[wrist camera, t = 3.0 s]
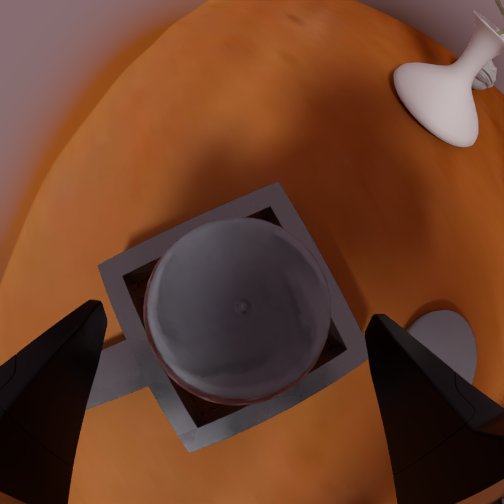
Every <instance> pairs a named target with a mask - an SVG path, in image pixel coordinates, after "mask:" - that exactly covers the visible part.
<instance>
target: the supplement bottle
mask: <svg viewBox="0 0 504 504" xmlns="http://www.w3.org/2000/svg"><path fill="white" fill-rule="evenodd" d="M143 311H144V313H143V320H144V325H145V331H146V335H147V339H148V342H149V345H150V348H151V350H152V352H153V354H154V356H155V358H156V359H157V361H158V362H159V364H160V365H161V367H162V368H163V369H164V370H165V372H166V373H167V375H168V376H169V377H170V378H171V379H173V380H174V381H175V382H176V383H177V384H178V385H180V386H181V387H182V388H184V389H185V390H187V391H188V392H190V393H192V394H194V395H196V396H197V397H200V398H202V399H204V400H206V401H210V402H214V403H219V404H225V405H233V406H234V405H237V406H240V405H250V404H256V403H261V402H264V401H268V400H271V399H273V398H276V397H278V396H280V395H282V394H283V393H285V392H287V391H288V390H290V389H291V388H293V387H294V386H295V385H296V384H297V383H299V382H300V381H301V380H302V379H303V378H304V377H305V376H306V375H307V374H308V373H309V371H310V370H311V369H312V368H313V366H314V365H315V363H316V362H317V360H318V358H319V356H320V354H321V352H322V350H323V348H324V345H325V342H326V339H327V335H328V331H329V327H330V322H331V297H330V291H329V287H328V283H327V280H326V277H325V275H324V272H323V270H322V268H321V266H320V265H319V263H318V261H317V260H316V258H315V257H314V255H313V254H312V252H311V251H310V250H309V249H308V248H307V247H306V246H305V244H303V243H302V242H301V241H300V240H299V239H298V238H297V237H296V236H294V235H293V234H291V233H289V232H288V231H287V230H285V229H283V228H281V227H280V226H277V225H274V224H272V223H270V222H267V221H265V220H261V219H255V218H247V217H231V218H222V219H218V220H213V221H210V222H208V223H205V224H202V225H200V226H198V227H196V228H194V229H192V230H191V231H189V232H187V233H186V234H185V235H183V236H182V237H181V238H180V239H179V240H177V241H176V242H175V243H173V244H172V245H171V246H170V247H169V248H168V249H167V251H166V252H165V253H163V255H162V256H161V258H160V259H159V260H158V262H157V264H156V265H155V267H154V269H153V271H152V273H151V276H150V278H149V281H148V283H147V288H146V292H145V297H144V305H143Z"/></svg>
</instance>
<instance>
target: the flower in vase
mask: <svg viewBox="0 0 504 504" xmlns="http://www.w3.org/2000/svg"><path fill="white" fill-rule="evenodd" d="M495 2H496V4H497V6H498V7H499V9H500V11H501V13H502V15H503V17H504V9H503V7H502V5H501V3H500V1H499V0H495ZM474 18H475V28H474V33H473V36H472V39H471V41H470V43H469V45H468V47H467V48H466V50H465V51H464V53H463V54H462V56H461V57H460V58H459V59H458V60H457V61H456V62H455V63H453V64H451V65H449V66H440V65H433V64H426V63H406V64H403V65H401V66H400V67H398V68H397V69H396V70H395V71H394V75H393V77H394V85H395V89H396V91H397V94H398V96H399V98H400V99H401V101H402V102H403V104H404V105H405V107H406V108H407V109H408V110H409V112H410V113H411V114H412V115H413V116H414V117H415V119H416V120H417V121H418V122H419V123H420V124H422V125H423V126H424V127H425V128H426V129H427V130H428V131H430V132H431V133H432V134H434V135H435V136H436V137H438V138H439V139H441V140H442V141H444V142H446V143H448V144H451V145H453V146H458V147H469V146H472V145H473V144H474V142H475V141H476V138H477V136H478V118H477V113H476V108H475V104H474V100H473V96H472V89H471V87H472V82H473V80H474V78H475V76H476V75H477V74H478V72H479V71H480V70H481V69H482V68H483V67H484V66H485V64H487V63H488V62H489V61H490V60H491V59H492V58H494V57H495V56H497V55H499V54H501V53H504V29H503V30H499V29H498V28H497V27H496V26H495V25H494V24H493V23H492V22H490V21H489V20H488V19H487V18H485V17H484V16H483V15H481V14H480V13H478V12H477V11H474Z"/></svg>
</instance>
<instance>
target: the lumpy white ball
mask: <svg viewBox="0 0 504 504" xmlns="http://www.w3.org/2000/svg"><path fill="white" fill-rule="evenodd" d="M496 70H497V68H496V67H495V66H494V64H493V62H492V60H490V61H489V62H488V63H487V64H485V66H484V67H483V68H482V69H481V70H480V71H479V72H478V74H477V75H476V76H475V78H474V80H473V82H472V87H471V88H473V89H477V90H481V89H486V88H487V87H492V86H493V84H494V82H495V80H496Z"/></svg>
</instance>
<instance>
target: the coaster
mask: <svg viewBox="0 0 504 504" xmlns="http://www.w3.org/2000/svg"><path fill="white" fill-rule="evenodd" d="M406 331H407V332H408V333H409V334H410V335H412V336H413V337H414V338H415V339H417V340H418V341H419V342H420V343H422V344H423V345H424V346H425V347H427V348H428V349H429V350H430V351H431V352H433V353H434V354H435V355H436V356H437V357H439V358H440V359H441V360H442V361H444V362H445V363H446V364H447V365H448V366H450V367H451V368H452V369H453V370H454V371H456V372H457V373H458V374H459V375H460V376H461V377H463V378H464V379H465V380H466V381H468V382H469V383H470V384H471V385H472V382H473V379H474V375H475V371H476V364H477V348H476V341H475V338H474V334H473V332H472V329H471V327H470V326H469V324H468V323H467V321H466V320H465V319H464V318H463V317H462V316H461V315H459V314H458V313H456V312H454V311H450V310H440V311H433V312H429V313H426V314H424V315H422V316H421V317H419V318H418V319H416V320H415V321H414V322H413V323H412V324H411V325H410V326H409V327H408V328H407V330H406Z"/></svg>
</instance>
